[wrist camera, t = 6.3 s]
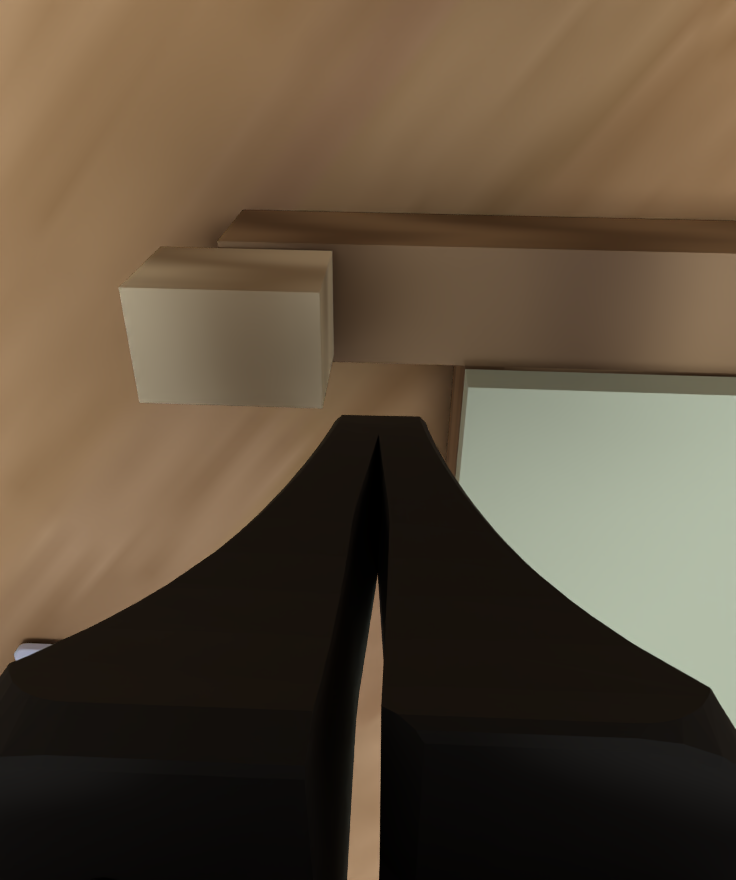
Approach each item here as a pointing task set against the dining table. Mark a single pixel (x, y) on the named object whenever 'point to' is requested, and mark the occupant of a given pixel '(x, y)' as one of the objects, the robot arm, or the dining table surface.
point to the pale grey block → (231, 326)
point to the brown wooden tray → (519, 291)
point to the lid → (617, 501)
